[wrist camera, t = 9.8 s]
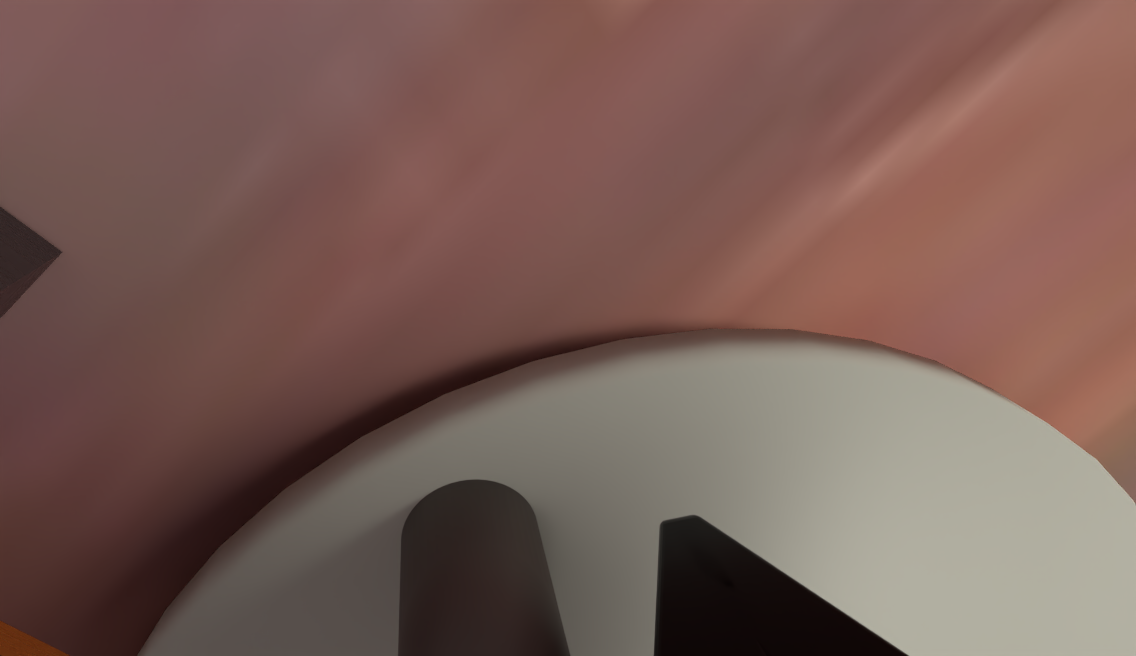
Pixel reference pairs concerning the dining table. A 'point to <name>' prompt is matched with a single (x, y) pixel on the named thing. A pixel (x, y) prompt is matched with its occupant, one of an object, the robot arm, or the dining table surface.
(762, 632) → the robot arm
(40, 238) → the indicator stand
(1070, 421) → the dining table surface
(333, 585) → the turntable
